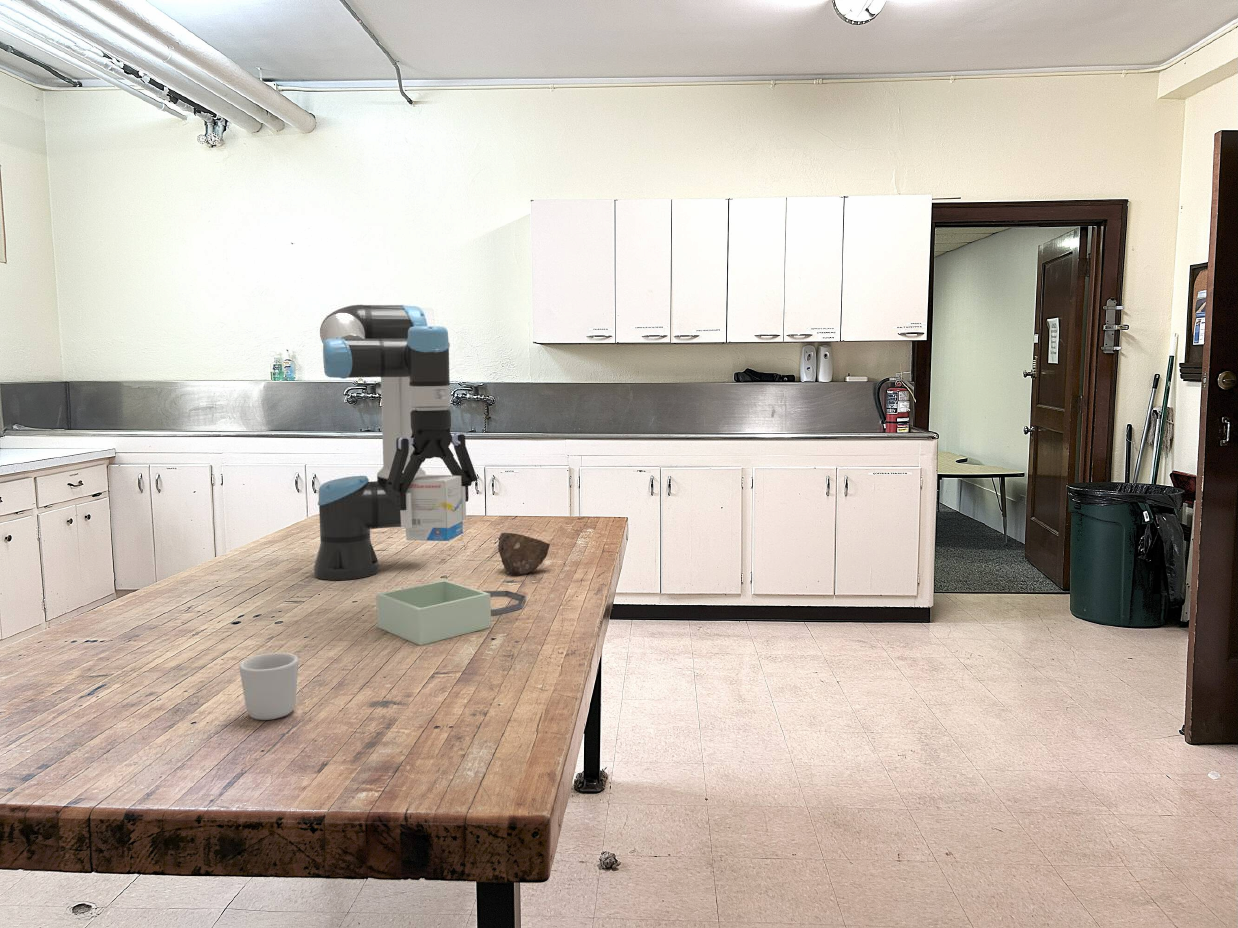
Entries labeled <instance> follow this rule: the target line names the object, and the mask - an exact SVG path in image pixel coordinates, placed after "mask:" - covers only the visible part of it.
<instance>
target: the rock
mask: <svg viewBox="0 0 1238 928" xmlns="http://www.w3.org/2000/svg"><path fill="white" fill-rule="evenodd" d="M550 545H551V544H550V543H548V542H545V541H543V540H540V539H538V538H534V537H531V536H527V535H524V534H519V533H514V532H501V533H500V535H499V537H498V547H497V550H498V553H499V556H500V559H501V563H502V565H503V568H504V571H505V572H506V573H508V574H509V575H514V576H520V575H526V574H530V573H531V572H533V571H535V570H536V569H538V568H539V566H540V565H542V564H543V561H544V560H545V559H546V558H547V555H548V554H549V549H550Z"/></svg>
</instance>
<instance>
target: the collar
mask: <svg viewBox="0 0 1238 928" xmlns="http://www.w3.org/2000/svg"><path fill="white" fill-rule="evenodd" d="M482 591H483V592H486V593H489V594H490V597H507V598H511V599H514V600H517V601H518V603H516V604H511V605H508V606H504V607H499V608H496V609H495V608H494V609H493V608H491V616H499V615H502V614H506V613H512V612H516V611H519V610H522V609H523V607H524V605H525V602H526V595H523V594H519V593H517V592H514V591H510V590H482Z"/></svg>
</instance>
